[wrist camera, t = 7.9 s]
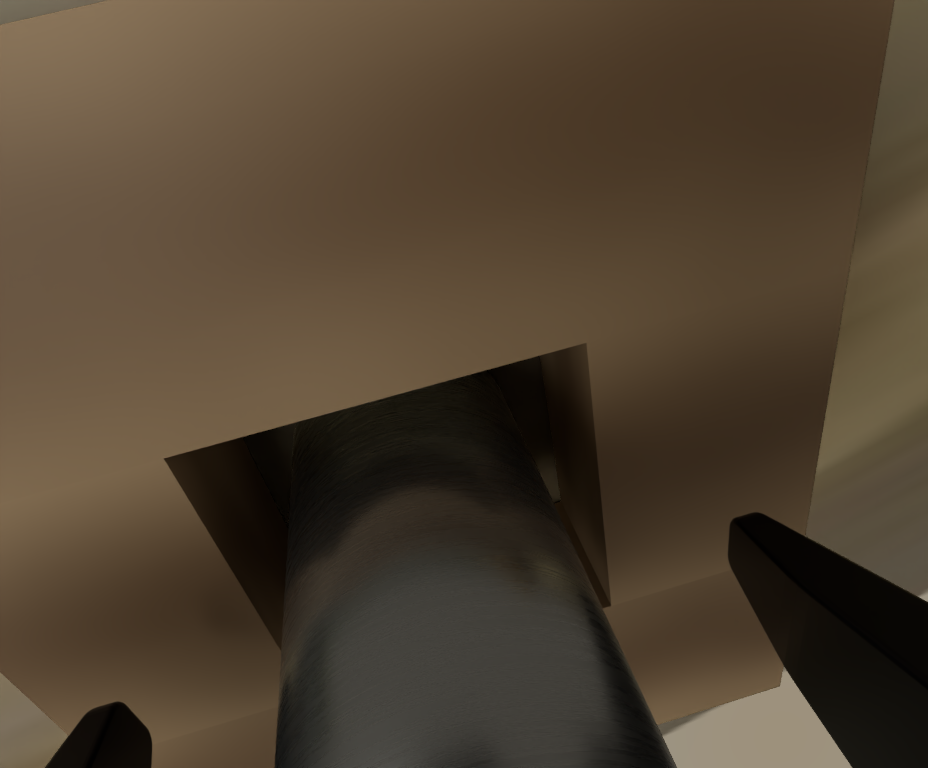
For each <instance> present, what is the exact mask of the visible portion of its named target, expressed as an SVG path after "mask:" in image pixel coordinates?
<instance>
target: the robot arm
mask: <svg viewBox="0 0 928 768" xmlns="http://www.w3.org/2000/svg"><path fill="white" fill-rule="evenodd" d="M728 561H729V564H730V567H731V569H732V571H733V573H734V575H735V577H736V579H737V581H738V583H739V584H740V586H741V588H742V590H743V592H744V594H745V596H746V597H747V599H748V601H749V603H750V605H751V607H752V609H753V610H754V612H755V614H756V616H757V618H758V620H759V622H760V623H761V625H762V627H763V629H764V631H765V633H766V635H767V636H768V638H769V640H770V642H771V644H772V646H773V648H774V649H775V651H776V653H777V655H778V656H779V658H780V660H781V662H782V663H783V665H784V667H785V668H786V670H787V671H788V673H789V674H790V676H791V678H792V679H793V680H794V682H795V684H796V685H797V687H798V688H799V690H800V691H801V693H802V694H803V695H804V697H805V699H806V700H807V701H808V703H809V704H810V706H811V707H812V709H813V710H814V712H815V713H816V714H817V716H818V718H819V719H820V720H821V722H822V724H823V725H824V726H825V728H826V729H827V731H828V732H829V734H830V735H831V737H832V738H833V740H834V741H835V743H836V744H837V746H838V747H839V749H840V750H841V752H842V753H843V755H844V756H845V757H846V759H847V760H848V762H849V763H850V765H851V766H852V768H928V602H927V601H925V600H923V599H921V598H919V597H918V596H916V595H914V594H912V593H910V592H908V591H906V590H904V589H903V588H901V587H899V586H897V585H895V584H893V583H891V582H890V581H888V580H886V579H884V578H882V577H880V576H878V575H877V574H875V573H873V572H871V571H869V570H867V569H865V568H864V567H862V566H860V565H858V564H856V563H854V562H852V561H851V560H849V559H847V558H845V557H843V556H841V555H839V554H838V553H836V552H834V551H832V550H830V549H828V548H826V547H824V546H823V545H821V544H819V543H817V542H815V541H813V540H811V539H810V538H808V537H806V536H804V535H802V534H800V533H798V532H797V531H795V530H793V529H791V528H789V527H787V526H785V525H784V524H782V523H780V522H778V521H776V520H774V519H772V518H771V517H769V516H767V515H765V514H763V513H759V512H752V513H749V514H745V515H742V516H739V517H735V518H733V519H732V521H731V522H730V526H729V541H728ZM151 767H152V738H151V734H150V732H149V730H148V728H147V727H146V726H145V725H144V724H143V723H142V722H141V720H140V719H139V718H138V717H137V716H136V715H135V714H134V713H133V712H132V711H131V710H130V708H129V707H128V706H127V705H126V704H124V703H123V702H119V701H117V702H113V703H109V704H106V705H102V706H99V707H96V708H93V709H91V710H90V711H88V712H87V713H86V714H85V715H84V716H83V717H82V718H81V720H80V721H79V723H78V724H77V725H76V727H75V728H74V729H73V731H72V732H71V733H70V735H69V736H68V737H67V739H66V740H65V741H64V743H63V744H62V745H61V747H60V748H59V749H58V751H57V752H56V753H55V755H54V756H53V757H52V759H51V760H50V761H49V763H48V764H47V765H46V767H45V768H151Z"/></svg>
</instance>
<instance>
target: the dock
mask: <svg viewBox="0 0 928 768" xmlns="http://www.w3.org/2000/svg"><path fill="white" fill-rule="evenodd" d="M893 6H894V0H107V1H103V2H98V3H94V4H90V5H85V6H81V7H76V8H72V9H68V10H63V11H59V12H54V13H50V14H46V15H41V16H37V17H32V18H28V19H23V20H19V21H15V22H10V23H6V24H1V25H0V672H1V673H2V674H3V675H4V676H5V677H6V678H7V679H8V680H9V681H10V682H12V683H13V684H14V685H15V686H16V687H17V688H18V689H19V690H20V691H21V692H22V693H23V694H24V695H26V696H27V697H28V698H29V699H30V700H31V701H32V702H33V703H34V704H35V705H36V706H37V707H38V708H39V709H41V710H42V711H43V712H44V713H45V714H46V715H47V716H48V717H49V718H50V719H51V720H52V721H53V722H54V723H56V724H57V725H58V726H59V727H60V728H61V729H62V730H63V731H64V732H65V733H66V734H67V735H68V736H69V735H70V733H71V732H72V731H73V729H74V728H75V727H76V725H77V724H78V723H79V721H80V720H81V718H82V717H83V716H84V715H85V714H86V713H87V712H88V711H90V710H91V709H93V708H96V707H99V706H102V705H106V704H109V703H113V702H117V701H119V702H123V703H124V704H126V705H127V706H128V707H129V708H130V710H131V711H132V712H133V713H134V714H135V715H136V716H137V717H138V718H139V719H140V720H141V722H142V723H143V724H144V725H145V726H146V727H147V728H148V730H149V732H150V734H151V738H152V767H151V768H274V767H275V750H276V733H277V716H278V698H279V681H280V664H281V647H282V629H283V612H284V595H285V577H286V560H287V543H288V528H287V526H286V524H285V522H284V520H283V518H282V516H281V514H280V512H279V510H278V508H277V506H276V504H275V502H274V500H273V498H272V496H271V494H270V492H269V490H268V488H267V486H266V484H265V482H264V480H263V478H262V476H261V474H260V472H259V470H258V468H257V466H256V464H255V462H254V460H253V458H252V456H251V454H250V452H249V450H248V448H247V446H246V444H245V442H244V440H243V438H242V437H244V436H248V435H251V434H255V433H259V432H262V431H266V430H270V429H273V428H277V427H280V426H284V425H288V424H291V423H295V422H299V421H302V420H306V419H310V418H313V417H317V416H321V415H324V414H328V413H332V412H335V411H339V410H343V409H346V408H350V407H354V406H357V405H361V404H364V403H368V402H372V401H375V400H379V399H383V398H386V397H390V396H394V395H397V394H401V393H405V392H408V391H412V390H416V389H419V388H423V387H427V386H430V385H434V384H438V383H441V382H445V381H448V380H452V379H456V378H459V377H463V376H467V375H470V374H474V373H478V372H481V371H485V370H489V369H492V368H496V367H500V366H503V365H507V364H511V363H514V362H518V361H522V360H525V359H529V358H532V357H536V356H540V360H541V367H542V374H543V381H544V388H545V394H546V401H547V408H548V415H549V422H550V429H551V436H552V443H553V450H554V457H555V463H556V470H557V477H558V484H559V491H560V498H561V502H558V503H554V505H555V507H556V510H557V512H558V514H559V516H560V518H561V520H562V522H563V525H564V527H565V529H566V531H567V533H568V535H569V537H570V540H571V542H572V544H573V546H574V548H575V550H576V552H577V555H578V557H579V559H580V561H581V563H582V565H583V567H584V570H585V572H586V574H587V576H588V578H589V580H590V582H591V585H592V587H593V589H594V591H595V593H596V595H597V597H598V600H599V602H600V604H601V606H602V608H603V610H604V612H605V615H606V617H607V619H608V621H609V623H610V625H611V627H612V630H613V632H614V634H615V636H616V638H617V640H618V642H619V644H620V647H621V649H622V651H623V653H624V655H625V657H626V659H627V662H628V664H629V666H630V668H631V670H632V672H633V674H634V677H635V679H636V681H637V683H638V685H639V687H640V689H641V692H642V694H643V696H644V698H645V700H646V702H647V704H648V707H649V709H650V711H651V713H652V715H653V717H654V719H655V722H656V724H657V725H659V724H662V723H665V722H668V721H671V720H675V719H678V718H681V717H684V716H687V715H690V714H694V713H697V712H700V711H703V710H706V709H709V708H713V707H716V706H719V705H722V704H725V703H728V702H732V701H735V700H738V699H741V698H744V697H747V696H750V695H754V694H757V693H760V692H763V691H766V690H769V689H773V688H776V687H779V686H780V683H781V677H782V671H783V663H782V662H781V660H780V658H779V656H778V655H777V653H776V651H775V649H774V648H773V646H772V644H771V642H770V640H769V638H768V636H767V635H766V633H765V631H764V629H763V627H762V625H761V623H760V622H759V620H758V618H757V616H756V614H755V612H754V610H753V609H752V607H751V605H750V603H749V601H748V599H747V597H746V596H745V594H744V592H743V590H742V588H741V586H740V584H739V583H738V581H737V579H736V577H735V575H734V573H733V571H732V569H731V567H730V564H729V561H728V541H729V526H730V522H731V521H732V519H733V518H735V517H739V516H742V515H745V514H749V513H752V512H759V513H763V514H765V515H767V516H769V517H771V518H772V519H774V520H776V521H778V522H780V523H782V524H784V525H785V526H787V527H789V528H791V529H793V530H795V531H797V532H798V533H800V534H802V535H804V536H805V533H806V527H807V521H808V515H809V509H810V503H811V497H812V491H813V485H814V479H815V473H816V467H817V461H818V455H819V449H820V443H821V437H822V431H823V425H824V419H825V413H826V407H827V401H828V395H829V389H830V383H831V377H832V371H833V365H834V359H835V353H836V348H837V342H838V336H839V330H840V324H841V318H842V312H843V306H844V300H845V294H846V288H847V282H848V276H849V270H850V264H851V258H852V252H853V246H854V240H855V234H856V228H857V222H858V216H859V210H860V204H861V198H862V192H863V186H864V180H865V174H866V168H867V162H868V156H869V150H870V144H871V138H872V132H873V126H874V120H875V114H876V108H877V102H878V96H879V90H880V84H881V78H882V72H883V66H884V60H885V54H886V48H887V42H888V36H889V30H890V24H891V18H892V12H893Z"/></svg>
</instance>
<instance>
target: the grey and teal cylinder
mask: <svg viewBox="0 0 928 768" xmlns="http://www.w3.org/2000/svg"><path fill="white" fill-rule="evenodd" d="M274 768H677V767H676V764H675V762H674V760H673V758H672V756H671V754H670V752H669V749H668V748H667V745H666V743H665V741H664V739H663V737H662V734H661V732H660V730H659V728H658V726H657V724H656V722H655V719H654V717H653V715H652V713H651V711H650V709H649V707H648V704H647V702H646V700H645V698H644V696H643V694H642V692H641V689H640V687H639V685H638V683H637V681H636V679H635V677H634V674H633V672H632V670H631V668H630V666H629V664H628V662H627V659H626V657H625V655H624V653H623V651H622V649H621V647H620V644H619V642H618V640H617V638H616V636H615V634H614V632H613V630H612V627H611V625H610V623H609V621H608V619H607V617H606V615H605V612H604V610H603V608H602V606H601V604H600V602H599V600H598V597H597V595H596V593H595V591H594V589H593V587H592V585H591V582H590V580H589V578H588V576H587V574H586V572H585V570H584V567H583V565H582V563H581V561H580V559H579V557H578V555H577V552H576V550H575V548H574V546H573V544H572V542H571V540H570V537H569V535H568V533H567V531H566V529H565V527H564V525H563V522H562V520H561V518H560V516H559V514H558V512H557V510H556V507H555V505H554V503H553V501H552V499H551V497H550V495H549V492H548V490H547V488H546V486H545V484H544V482H543V480H542V477H541V475H540V473H539V471H538V469H537V467H536V465H535V462H534V460H533V458H532V456H531V454H530V452H529V450H528V447H527V445H526V443H525V441H524V439H523V437H522V435H521V432H520V430H519V428H518V426H517V424H516V422H515V420H514V417H513V415H512V413H511V411H510V409H509V407H508V405H507V402H506V400H505V398H504V396H503V394H502V392H501V390H500V388H499V386H498V385H497V383H496V382H495V380H494V379H493V377H492V376H491V375H490V374H489V373H488V372H487V371H486V370H485V371H481V372H478V373H474V374H470V375H467V376H463V377H459V378H456V379H452V380H448V381H445V382H441V383H438V384H434V385H430V386H427V387H423V388H419V389H416V390H412V391H408V392H405V393H401V394H397V395H394V396H390V397H386V398H383V399H379V400H375V401H372V402H368V403H364V404H361V405H357V406H354V407H350V408H346V409H343V410H339V411H335V412H332V413H328V414H324V415H321V416H317V417H313V418H310V419H306V420H302V421H299V422H296V423H295V429H294V439H293V457H292V474H291V491H290V508H289V526H288V543H287V560H286V577H285V595H284V612H283V629H282V647H281V664H280V681H279V698H278V716H277V733H276V750H275V767H274Z"/></svg>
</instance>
